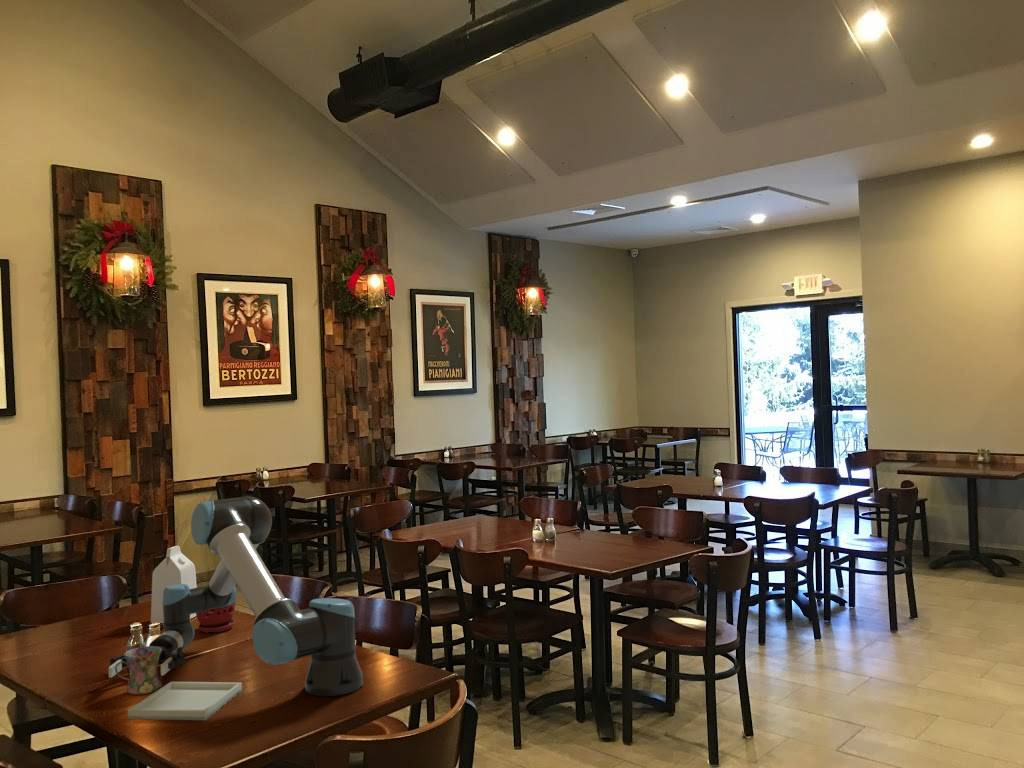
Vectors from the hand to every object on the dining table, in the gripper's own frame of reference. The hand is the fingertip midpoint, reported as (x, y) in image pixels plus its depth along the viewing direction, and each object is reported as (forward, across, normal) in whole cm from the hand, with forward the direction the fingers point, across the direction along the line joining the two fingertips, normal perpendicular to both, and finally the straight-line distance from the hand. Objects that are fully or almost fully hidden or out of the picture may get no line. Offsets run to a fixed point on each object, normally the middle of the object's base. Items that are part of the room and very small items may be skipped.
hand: (136, 671), depth 223 cm
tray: (+10, -17, -6) cm, 20 cm away
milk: (-74, +16, -6) cm, 76 cm away
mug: (-1, 0, -6) cm, 6 cm away
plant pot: (-60, -2, -6) cm, 61 cm away
